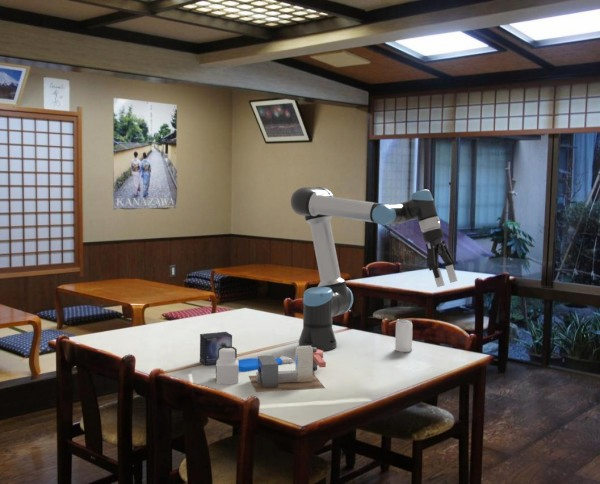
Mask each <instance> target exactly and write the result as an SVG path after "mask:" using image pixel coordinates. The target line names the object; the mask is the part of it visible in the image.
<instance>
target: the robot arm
mask: <svg viewBox="0 0 600 484" xmlns="http://www.w3.org/2000/svg"><path fill="white" fill-rule="evenodd" d="M410 197H411V199H409V200H407V201H403V202H400V203H388V204H387V203H381V202H380V203H379V202H373V201H366V200H357V199H351V198H343V197H335V196H334V194H333V193H332V192H331V191H330V190H329V189H327V188H326V187H321V186H316V187H315V186H312V187H306V186H305V187H300V188H298V189H296V190H295V191H294V192H293V193H292V194H291V198H290V206H291V209H292V210H293V211H294V212H295V214H298V215H299V216H302V217H304V219H305V223H307V224H308V225H309V227H310V231H311V232H310V233H311V237H312V242H313V247H314V248H313V249H314V253H315V257H316V263H317V269H318V273H319V281H320V282H319V283H318V285H317V286H316V287H315V286H314V287H310V288H308V289H306V290H304V291H303V298H302V307H303V308H302V310H303V314H302V315H303V317H302V321H303V323H302V324H303V325H302V330H301V332H300V336H299V339H298V346H311V347H316V348H317V349H319V350H322V351H323V352H324V351H331V350H335V349H336V348H337V339H336V335H335V333H334V332H335V331H334V330H333V329H334V328H333V318H334V317H337V316H341V315H343V314H345V313H347V312H349V310H350V309H351V308H352V306H353V303H354V294H353V292H352V290H351V289H350V288H349V287H347V283H346V280H345V279H344V278H342V277H341V276H342V275H341V271H340V266H339V260H338V255H337V251H336V250H337V249H336V245H335V244H336V243H335V239H334V234H333V229H332V223H331V220H332V219H333V218H334V217H335V218H341V219H349V220H355V221H361V222H368V223H374V224H377V225H380V226H389V225H390V226H391V227H395V226H399V225H402V224H405V223H407V222H410V221H412V220H416V219H417V220H418V224H419V228H420V231H421V233H422V238H423V242H424V243H426V244H425V247H426V252H427V253H426V254H427V263H428V264H427V266H428V270H429V271H432V274H433V277H434V281H435V284H436V288H440V287H443V286H445V285H446V284H445V282H444V281H445V280H444V278H443V275H442V272H441V271H442V270H441V268H440V267H439V260H440V259H439V258H441V259H442V261H443V262H444V265H445V269H446V272H447V275H448V276H447V277H448V280H449V283H456V282H458V278H457V276H456V271H455V269H454V268H455V267H454V265H455V264H456V263H455V260H454V258H453V256H452V254H451V253H450V250H449V248H448V246H447V244H446V241H445V239H444V240H441V239H443V238H444V237H445V236H444V232H443V229H442V227H441V222H440V221H441V218H439V215H438V212H437V208H436V205H435V201H434V198H433V195H432V193H431V191H430V190H429V189H420V190H418V191H415V192H413V193H411V195H410Z"/></svg>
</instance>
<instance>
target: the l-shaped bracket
mask: <svg viewBox="0 0 600 484" xmlns="http://www.w3.org/2000/svg"><path fill="white" fill-rule="evenodd" d="M294 368H295V370H278V383H286V382H310V381H313V373H314V371H313V348H312V347H311V346H299V345H295V367H294ZM255 375H256V382H257V384H261V372H258V371H257V372H256V374H255Z"/></svg>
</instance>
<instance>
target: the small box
mask: <svg viewBox="0 0 600 484" xmlns="http://www.w3.org/2000/svg"><path fill="white" fill-rule="evenodd" d="M225 346H231V347H233V335H232V334H231V333H229V332H228V331H221V332H211V333H210V332H209V333H201V334H199V363H201V364H202V365H204V366H206V365H207V366H214V365H215V366H216V363H217V360H218V349H219V348H221V347H225Z"/></svg>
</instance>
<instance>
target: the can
mask: <svg viewBox="0 0 600 484" xmlns="http://www.w3.org/2000/svg"><path fill="white" fill-rule="evenodd" d="M394 341H395V346H394V347H395V351H396V352H398V351H399V353H411V351H413V350H412V349H413V323H412V320H411V319H407V318H406V319H405V318H400V319H399V318H398V319H396V322H395V340H394Z"/></svg>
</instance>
